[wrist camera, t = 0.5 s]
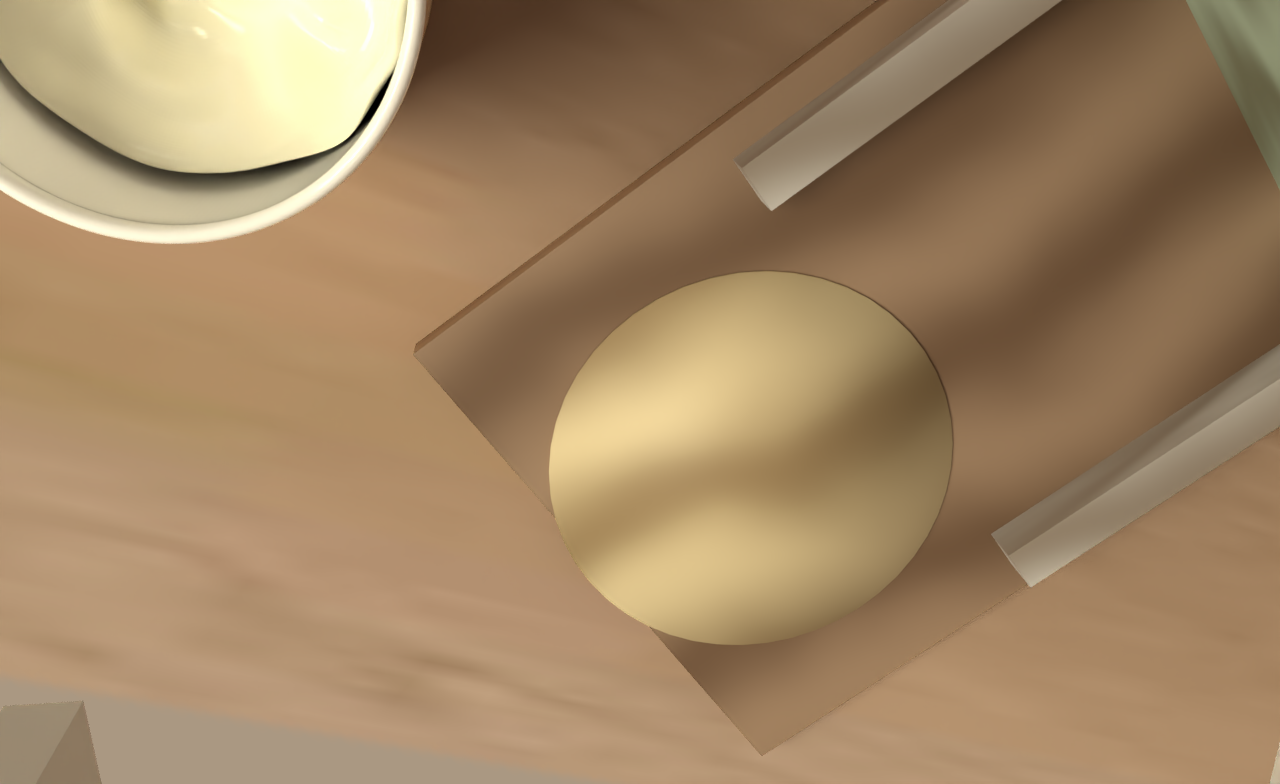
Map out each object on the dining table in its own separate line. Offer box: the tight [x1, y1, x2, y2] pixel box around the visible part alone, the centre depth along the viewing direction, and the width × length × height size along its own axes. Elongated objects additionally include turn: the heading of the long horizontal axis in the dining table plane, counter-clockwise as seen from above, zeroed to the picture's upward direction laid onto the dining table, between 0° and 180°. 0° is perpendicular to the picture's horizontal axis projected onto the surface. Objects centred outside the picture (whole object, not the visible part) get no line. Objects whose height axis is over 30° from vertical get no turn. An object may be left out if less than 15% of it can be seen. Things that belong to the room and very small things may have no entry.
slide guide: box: [413, 0, 1280, 756], centre depth 34 cm, size 19×26×6 cm
